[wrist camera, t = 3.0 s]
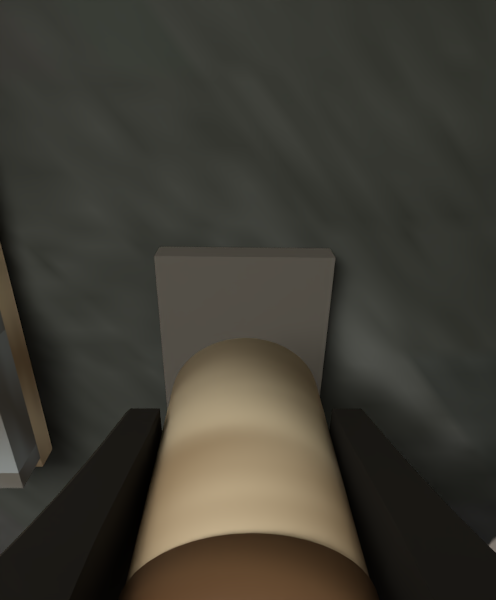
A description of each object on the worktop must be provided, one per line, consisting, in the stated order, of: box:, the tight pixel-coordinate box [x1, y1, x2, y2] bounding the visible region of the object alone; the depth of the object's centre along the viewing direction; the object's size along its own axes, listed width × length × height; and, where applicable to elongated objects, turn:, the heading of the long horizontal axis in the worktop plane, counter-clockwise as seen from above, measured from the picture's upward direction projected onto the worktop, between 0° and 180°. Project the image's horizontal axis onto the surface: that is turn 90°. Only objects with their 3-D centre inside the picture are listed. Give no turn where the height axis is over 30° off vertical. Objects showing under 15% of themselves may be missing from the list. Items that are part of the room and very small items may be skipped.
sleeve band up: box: [118, 338, 379, 600], centre depth 7 cm, size 4×4×6 cm
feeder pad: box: [154, 247, 335, 410], centre depth 16 cm, size 11×6×1 cm, turn 179°
